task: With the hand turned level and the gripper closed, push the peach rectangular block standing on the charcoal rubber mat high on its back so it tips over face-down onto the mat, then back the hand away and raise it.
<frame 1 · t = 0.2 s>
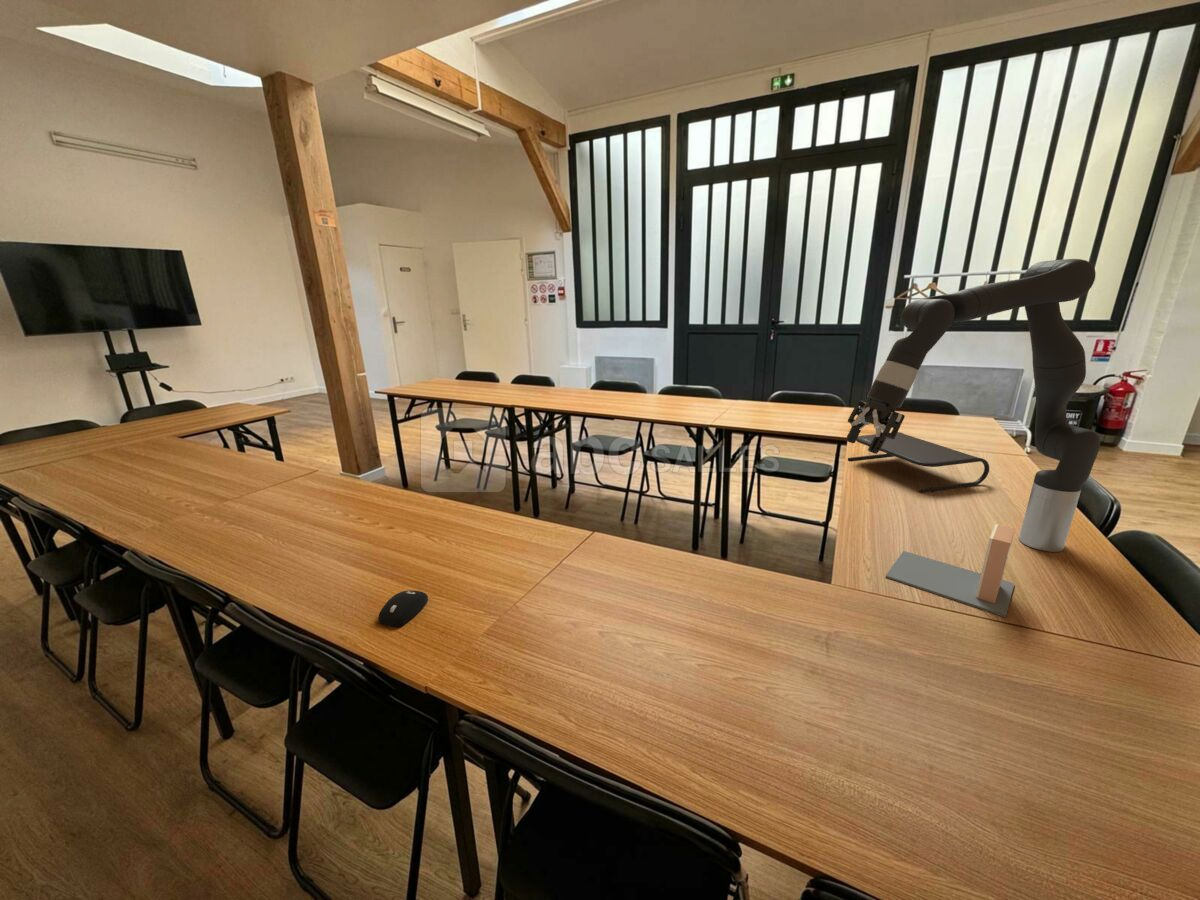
hand: (860, 447, 115), 31 cm above the table, tool tilted 20°, fingers open, 8 cm apart
peach rectangular block: (988, 591, 110), resting on mat
monitor stand: (911, 472, 185), on the table
computer mouse: (406, 612, 111), on the table
mat: (948, 581, 115), on the table
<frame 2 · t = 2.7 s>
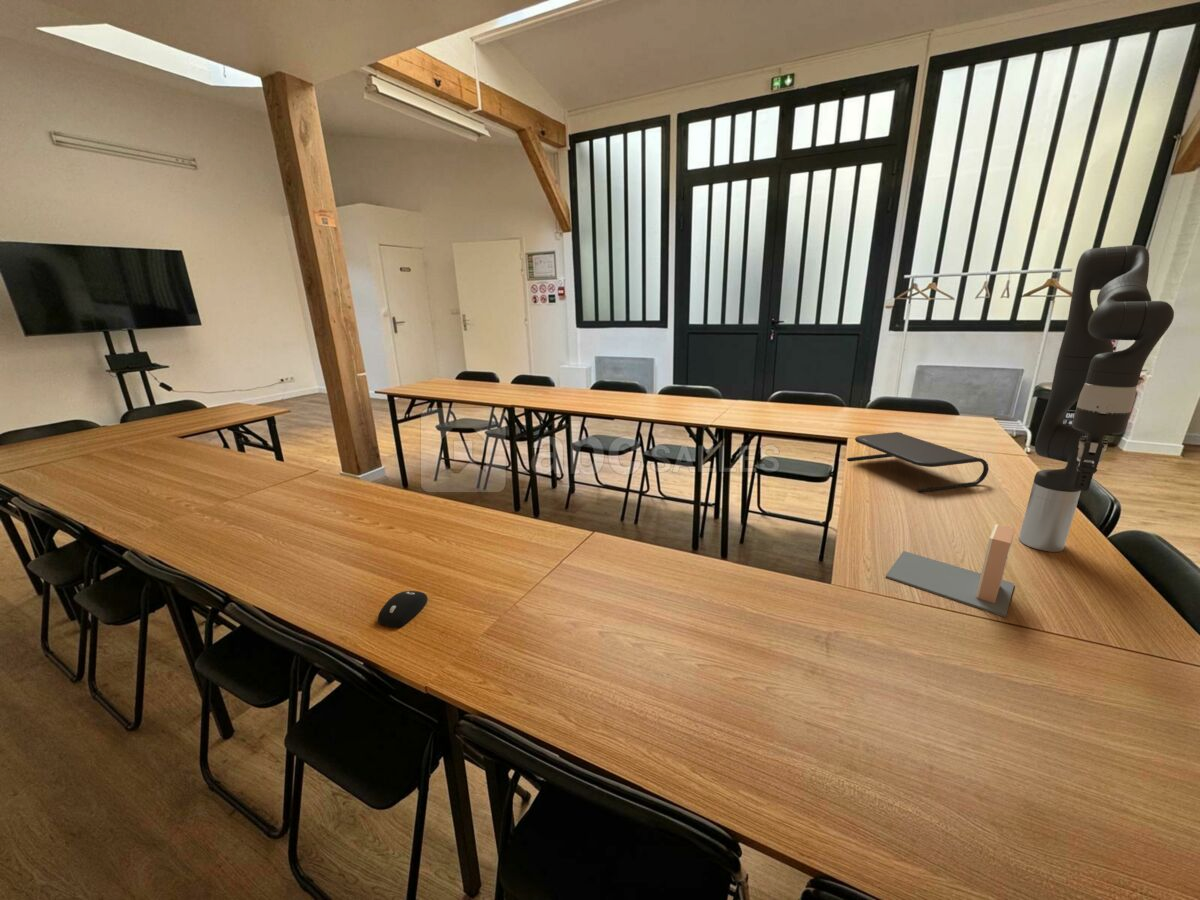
hand: (1081, 483, 98), 28 cm above the table, tool pointing down, fingers open, 8 cm apart
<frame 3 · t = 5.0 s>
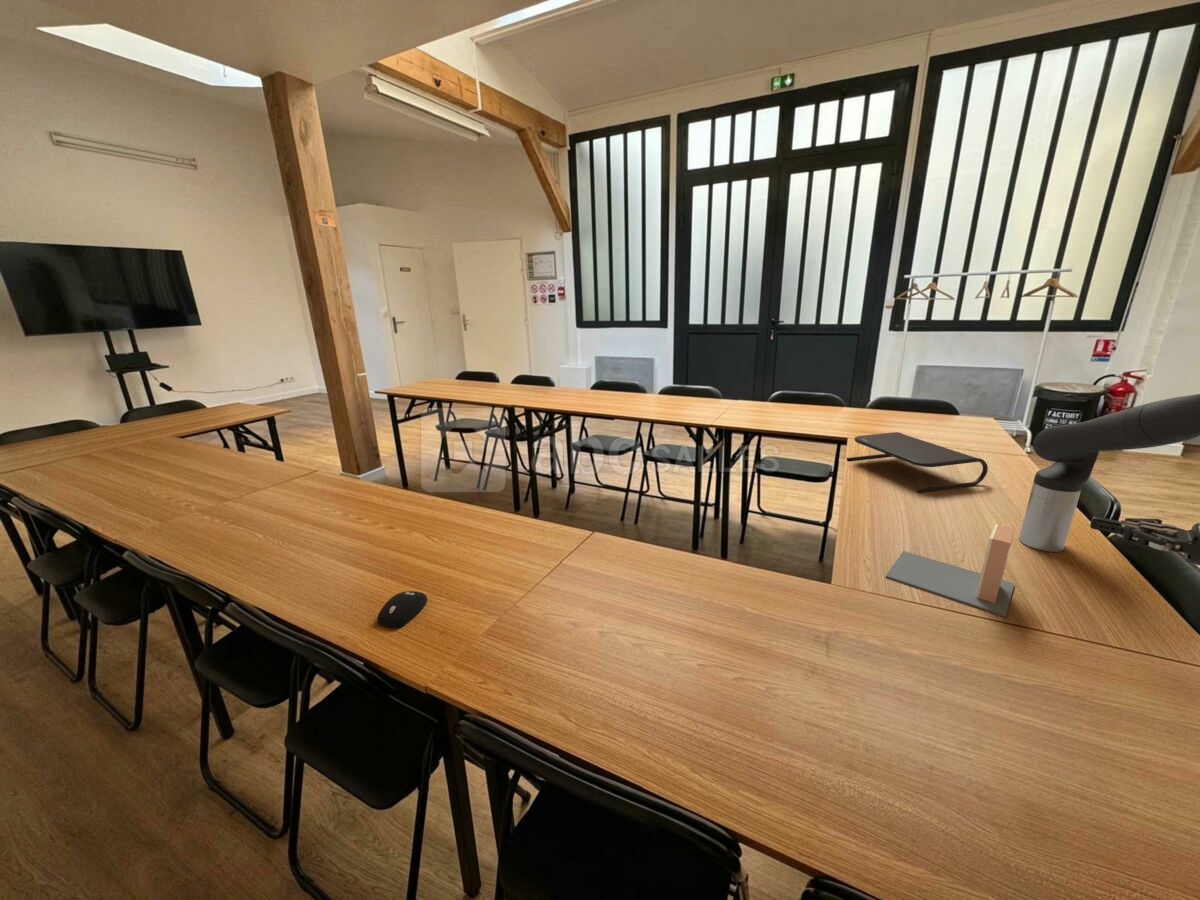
hand: (1091, 522, 94), 22 cm above the table, tool horizontal, fingers closed
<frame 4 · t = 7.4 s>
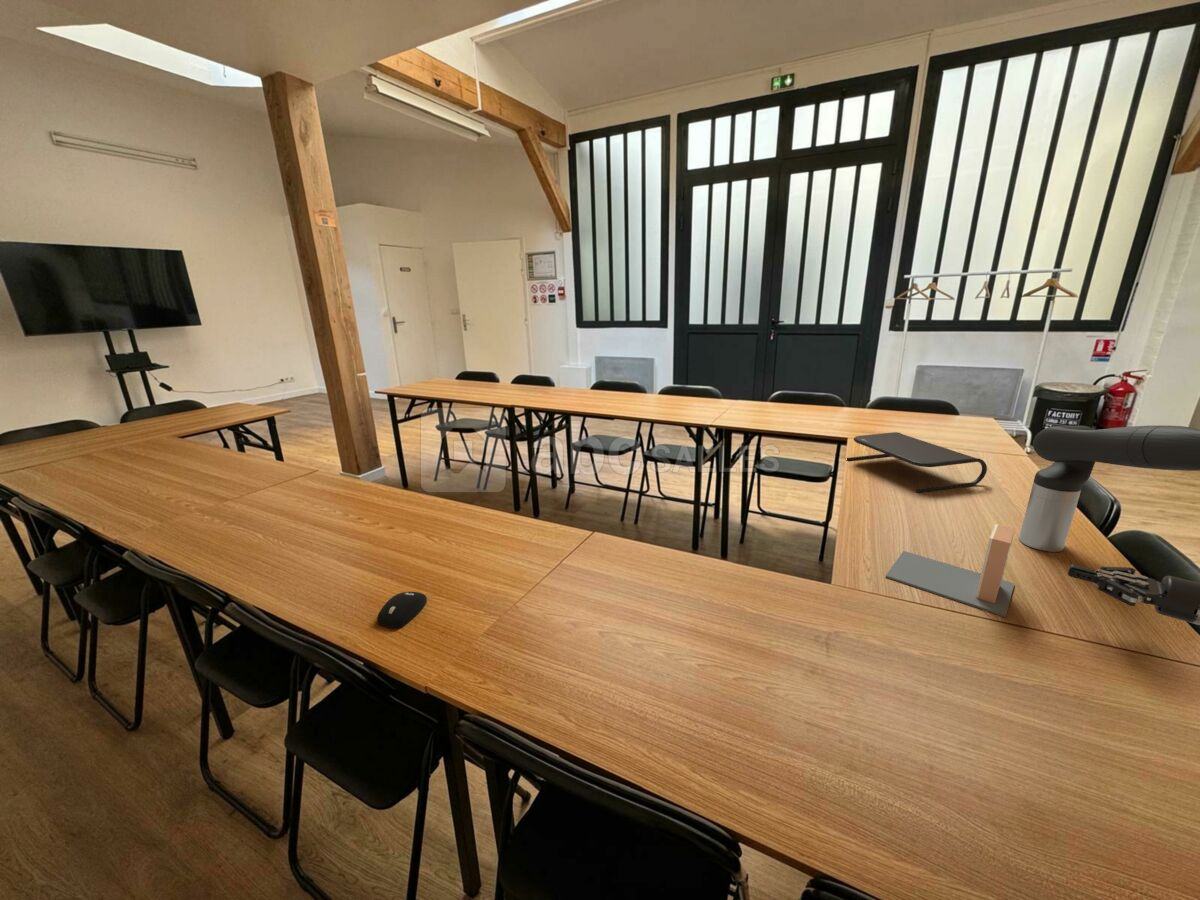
hand: (1069, 569, 99), 11 cm above the table, tool horizontal, fingers closed
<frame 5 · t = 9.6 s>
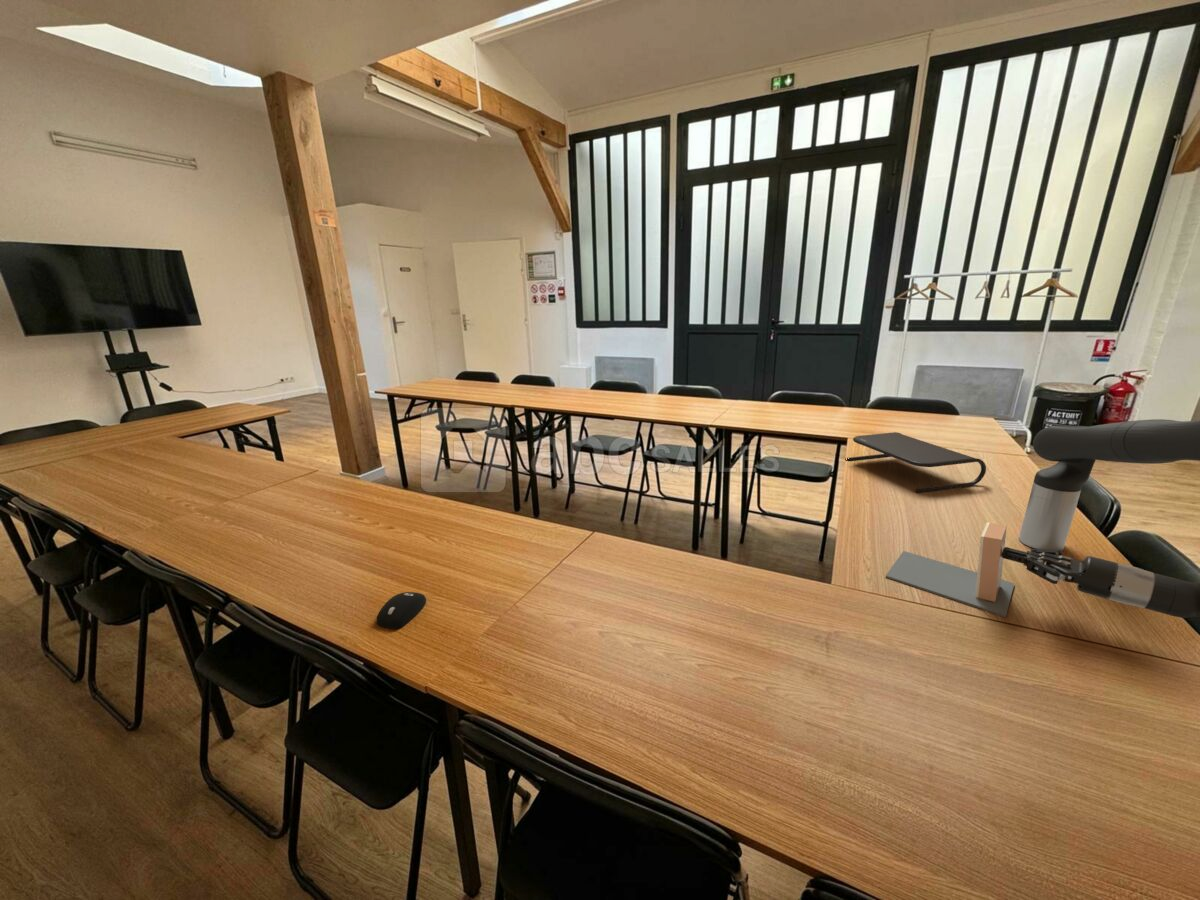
hand: (1002, 552, 106), 11 cm above the table, tool horizontal, fingers closed
peach rectangular block: (988, 590, 109), point 1 cm above the table, tilted 6°, touching mat
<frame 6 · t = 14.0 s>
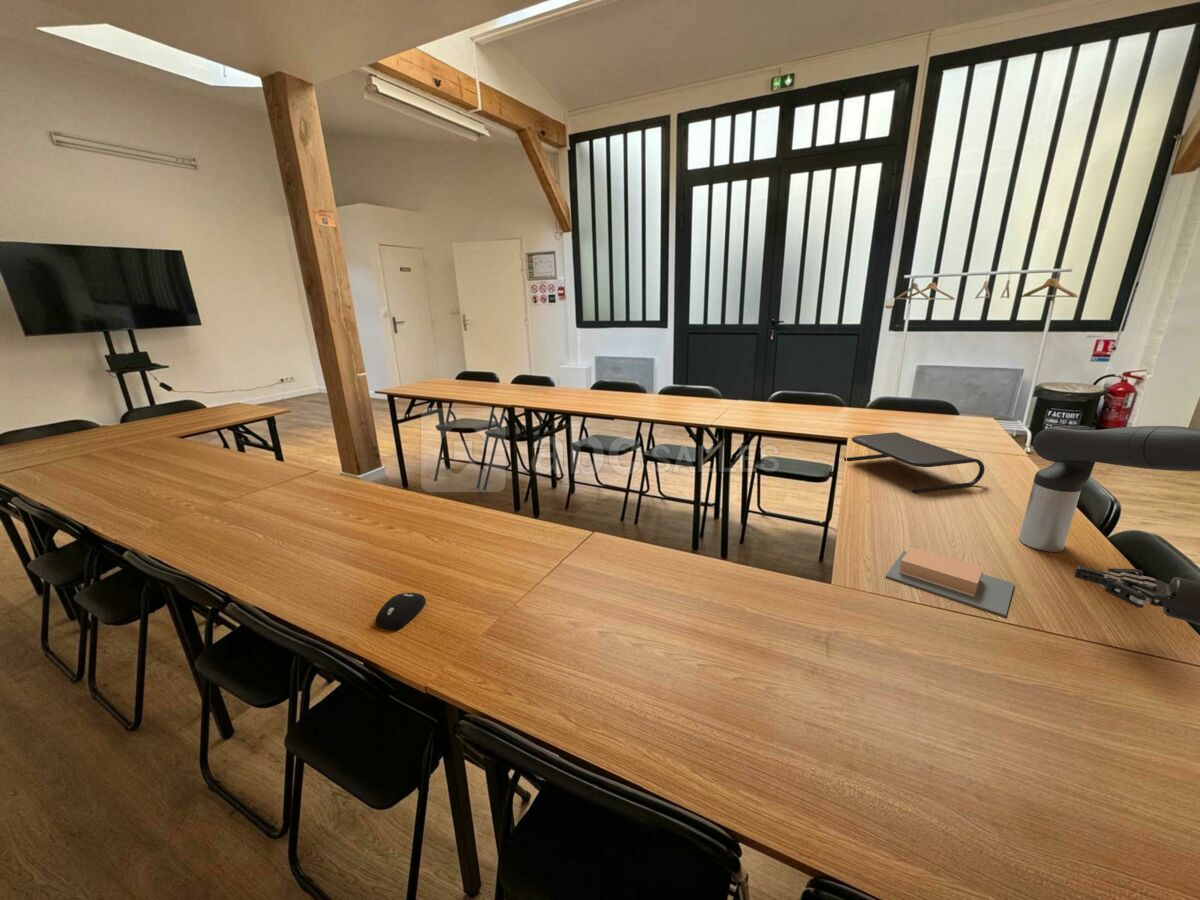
hand: (1075, 571, 98), 11 cm above the table, tool horizontal, fingers closed
peach rectangular block: (979, 581, 110), point 2 cm above the table, tilted 90°, touching mat
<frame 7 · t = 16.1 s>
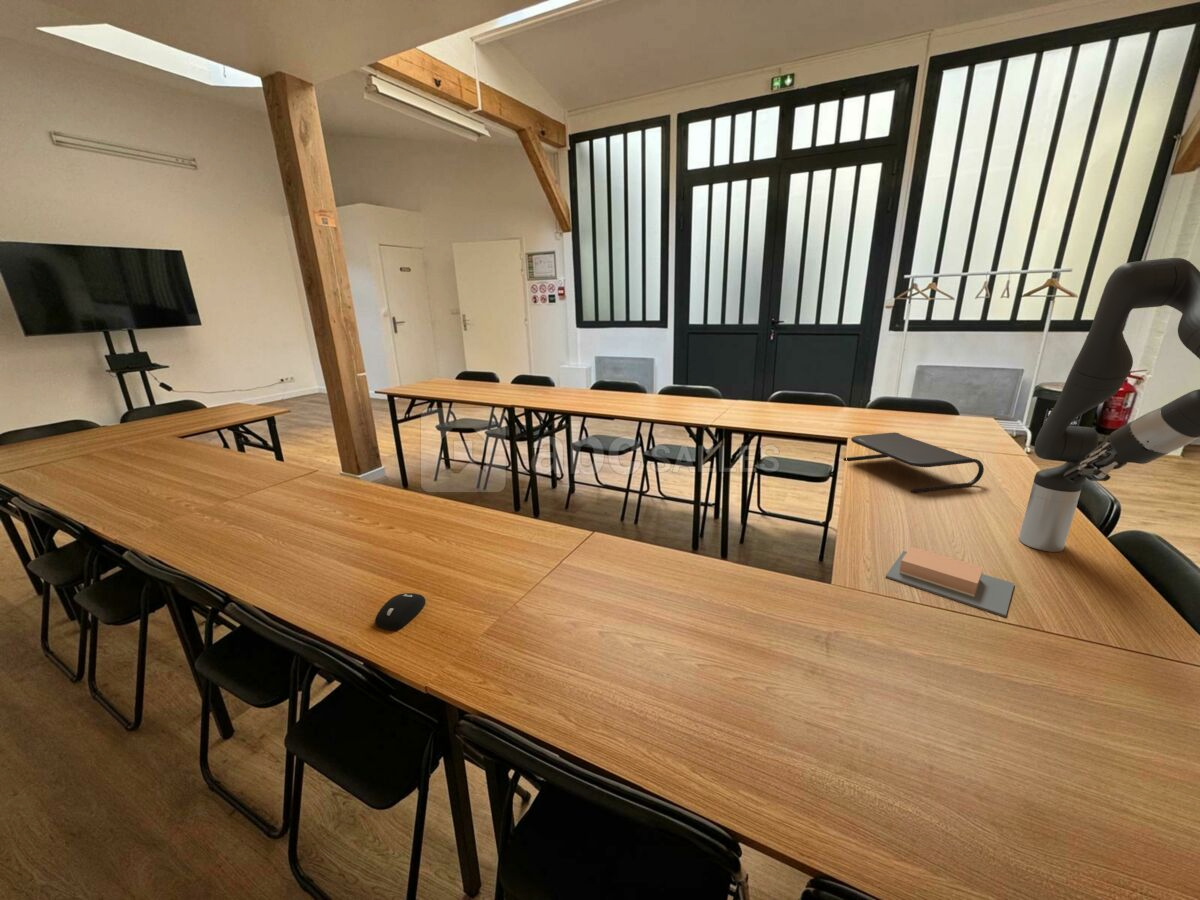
hand: (1068, 478, 103), 28 cm above the table, tool tilted 40°, fingers closed
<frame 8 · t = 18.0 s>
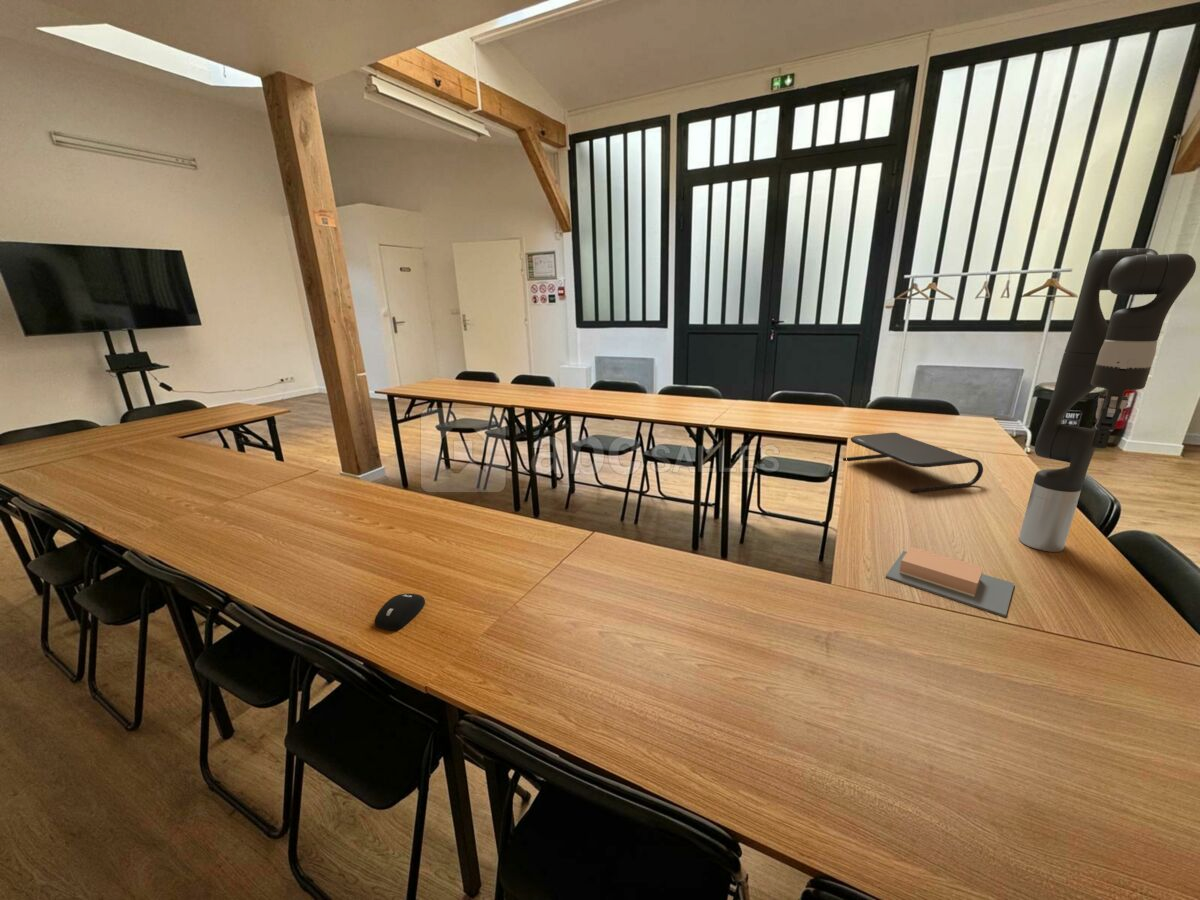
hand: (1098, 446, 99), 35 cm above the table, tool pointing down, fingers closed
at the end: peach rectangular block tilted 90°; peach rectangular block touching mat; peach rectangular block inside the target area (0.5 cm from its centre), point 2.2 cm above the table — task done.
